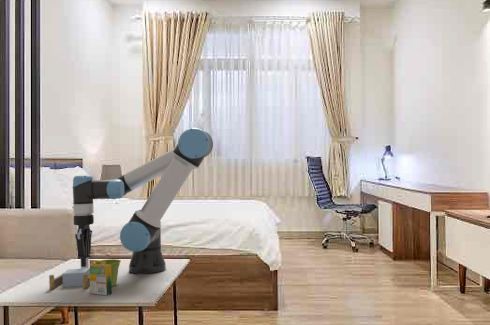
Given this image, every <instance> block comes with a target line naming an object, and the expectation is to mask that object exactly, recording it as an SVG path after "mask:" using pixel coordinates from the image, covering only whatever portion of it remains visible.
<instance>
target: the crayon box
mask: <svg viewBox="0 0 490 325" xmlns="http://www.w3.org/2000/svg"><path fill="white" fill-rule="evenodd" d="M94 262H100V263H101V264H94ZM89 268H90V287H89V294H90V295H91V294H92V295H93V294H94V295H101V296H108V295H111V294H113V292H112V291H113V290H112V288H113V286H112V279H111V265H106V261H100V260H99V259H98V260H96V259H95V260H94V259H89Z"/></svg>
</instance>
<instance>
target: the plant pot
mask: <svg viewBox="0 0 490 325" xmlns="http://www.w3.org/2000/svg"><path fill="white" fill-rule="evenodd" d="M100 261H106V265H111V279H112V287H115V286H116V285H117V283H118V274H119V267H120V266H121V265H120V263H121V262H122V261H121V260H120V259H114V258H113V259H111V258H110V259H101V260H100ZM94 264H101V263H100V262H94Z"/></svg>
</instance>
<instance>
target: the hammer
mask: <svg viewBox="0 0 490 325" xmlns="http://www.w3.org/2000/svg"><path fill="white" fill-rule="evenodd" d="M48 278H49V281H48V284H49V290H50V291H52V290H55V289H56V288H58V287H60V286H61V285H63V279H62V274H59V275H58V276H57V277H55V275H54V274H49V276H48ZM82 287H83V290H88V289H90V276H89V277H88V274H83V286H82Z"/></svg>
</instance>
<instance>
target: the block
mask: <svg viewBox="0 0 490 325" xmlns="http://www.w3.org/2000/svg"><path fill="white" fill-rule="evenodd" d="M83 274H88V277H89V276H90V267H89V268H86V269H81V268H68V269H67V270H65V271H64V272H63V273H62V274H61V275H62V279H63V284H62V287H63V288H66V287H69V288H70V287H83Z"/></svg>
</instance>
